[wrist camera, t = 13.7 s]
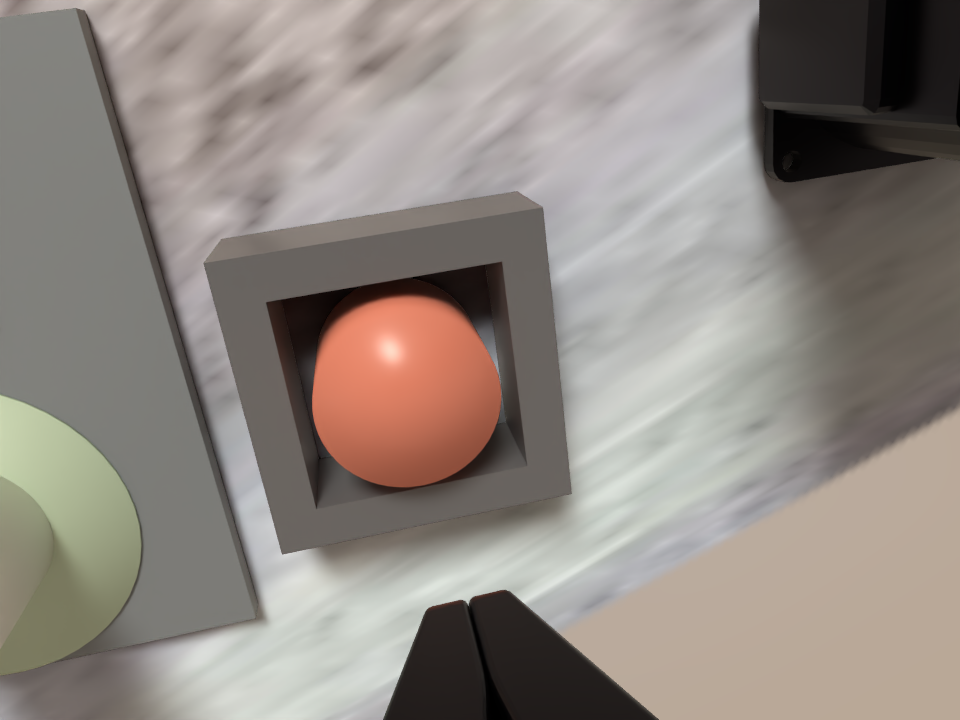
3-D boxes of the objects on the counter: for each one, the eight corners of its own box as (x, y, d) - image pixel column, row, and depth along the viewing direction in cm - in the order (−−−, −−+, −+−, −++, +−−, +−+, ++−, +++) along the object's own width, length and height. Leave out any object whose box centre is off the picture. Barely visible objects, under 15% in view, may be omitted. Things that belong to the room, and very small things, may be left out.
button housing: (517, 191, 18) (542, 207, 16) (545, 448, 21) (571, 494, 19) (221, 239, 18) (203, 263, 15) (289, 499, 20) (282, 554, 18)
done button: (466, 264, 18) (489, 297, 16) (487, 413, 20) (511, 467, 17) (300, 293, 18) (293, 331, 15) (334, 443, 19) (333, 503, 17)
